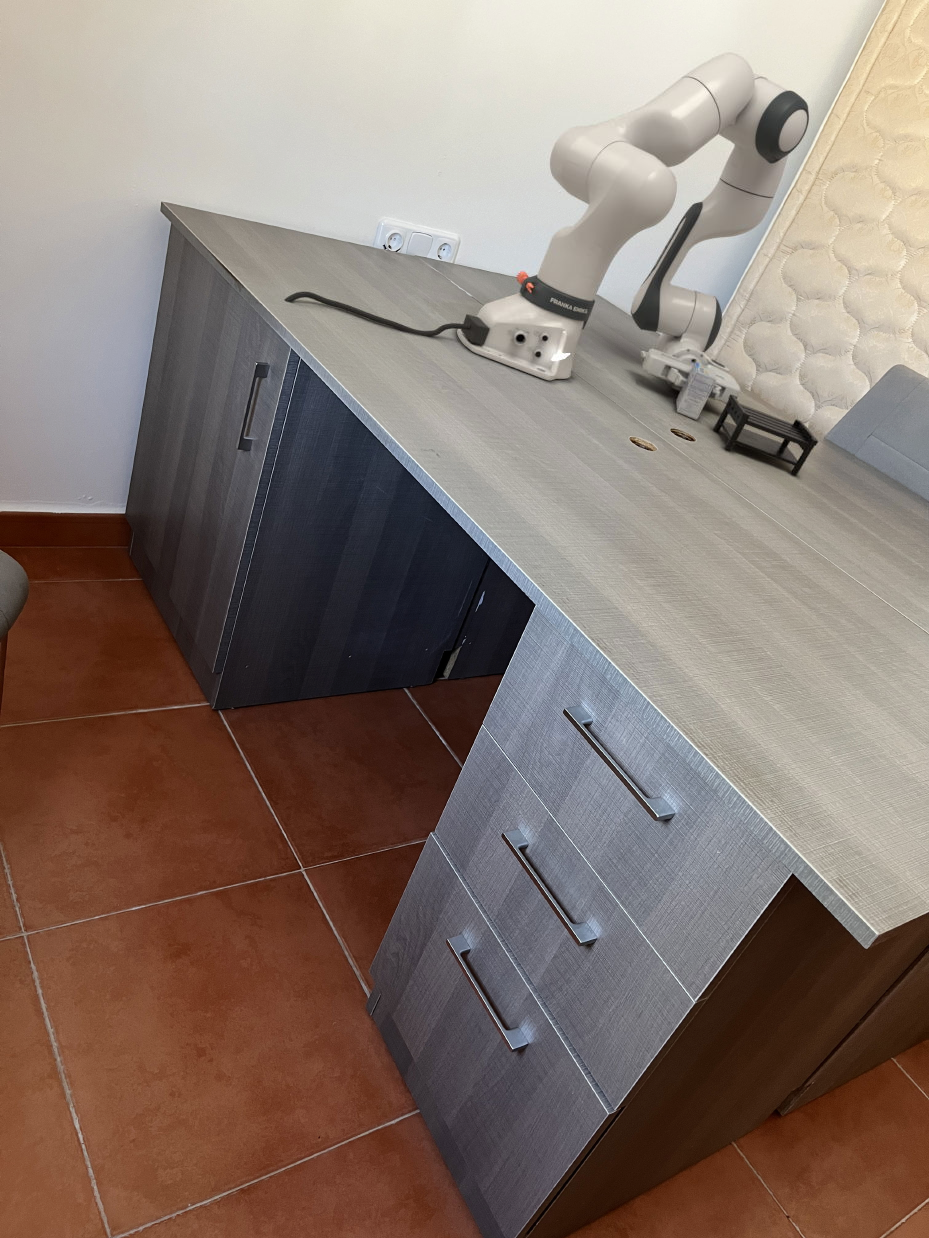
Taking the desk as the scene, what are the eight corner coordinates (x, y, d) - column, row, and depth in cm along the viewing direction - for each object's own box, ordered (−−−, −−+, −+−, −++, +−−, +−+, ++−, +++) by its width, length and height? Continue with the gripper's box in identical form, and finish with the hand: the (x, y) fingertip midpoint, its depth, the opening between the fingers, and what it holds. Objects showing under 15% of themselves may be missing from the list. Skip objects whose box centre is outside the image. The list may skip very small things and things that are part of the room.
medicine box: (696, 421, 180) (718, 379, 176) (675, 412, 180) (696, 370, 176) (695, 410, 187) (715, 370, 183) (674, 401, 187) (695, 361, 183)
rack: (724, 449, 170) (744, 413, 167) (711, 428, 180) (730, 393, 176) (797, 477, 173) (819, 442, 169) (781, 455, 182) (801, 421, 179)
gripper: (646, 335, 189) (657, 355, 177) (735, 370, 192) (752, 392, 181) (632, 364, 192) (642, 385, 180) (720, 398, 196) (736, 421, 184)
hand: (698, 389), depth 181 cm, fingers open, 6 cm apart
